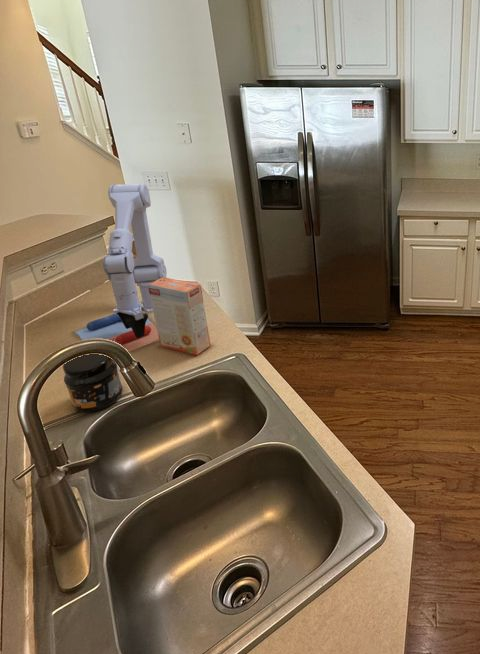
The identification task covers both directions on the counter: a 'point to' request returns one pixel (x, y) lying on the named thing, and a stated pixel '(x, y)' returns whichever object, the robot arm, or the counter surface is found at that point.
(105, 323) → the blue spoon
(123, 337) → the red spoon
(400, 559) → the counter surface
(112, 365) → the supplement container
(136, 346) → the sorting mat
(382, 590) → the counter surface
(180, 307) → the cracker box
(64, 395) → the counter surface
